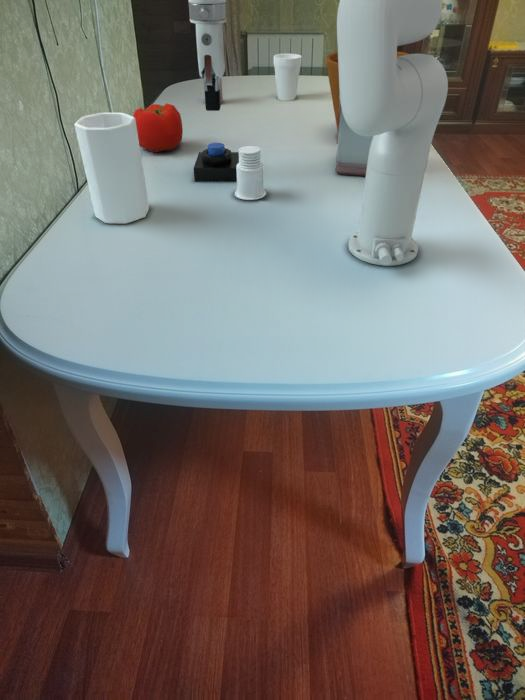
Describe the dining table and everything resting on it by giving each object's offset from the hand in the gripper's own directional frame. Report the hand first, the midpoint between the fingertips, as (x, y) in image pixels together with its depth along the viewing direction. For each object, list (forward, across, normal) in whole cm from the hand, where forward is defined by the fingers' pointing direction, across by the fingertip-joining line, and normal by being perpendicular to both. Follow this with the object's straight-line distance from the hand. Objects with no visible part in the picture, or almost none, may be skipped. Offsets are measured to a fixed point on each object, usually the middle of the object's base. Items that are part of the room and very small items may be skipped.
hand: (213, 109), depth 115 cm
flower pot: (+14, +28, -39) cm, 50 cm away
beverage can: (+15, +65, +7) cm, 67 cm away
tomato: (+15, +18, +17) cm, 29 cm away
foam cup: (+15, +71, -18) cm, 75 cm away
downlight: (+14, -14, -9) cm, 22 cm away
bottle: (+14, +5, -34) cm, 37 cm away
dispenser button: (+10, 0, 0) cm, 10 cm away
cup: (+15, -23, +18) cm, 33 cm away
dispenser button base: (+14, 0, 0) cm, 14 cm away
